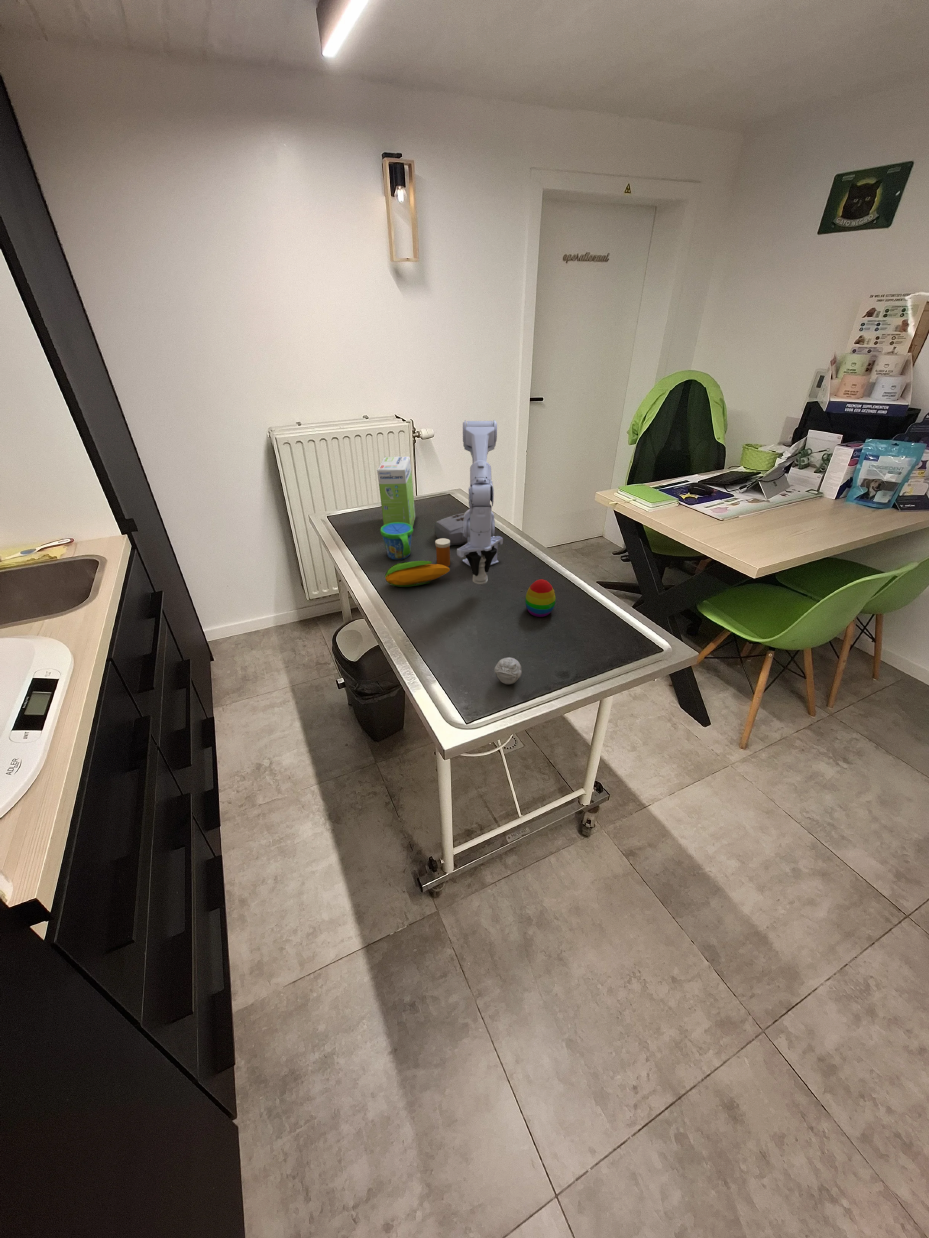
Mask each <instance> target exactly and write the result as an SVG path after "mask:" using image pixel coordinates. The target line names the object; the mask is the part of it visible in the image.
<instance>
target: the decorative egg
mask: <svg viewBox="0 0 929 1238" xmlns="http://www.w3.org/2000/svg"><path fill="white" fill-rule="evenodd" d="M524 602H525V607H526V610H527V611H528V612H529V613H530V615H532V616H534V617H538V618H543V617H547V616H548V615H550V613H552V611H553V610H554V609H555V605H556V592H555V590H554V588H553V586H552V584H551V583H550V582H549V581H548V580H546V579H544V578H543V579H541V578H540V579H537V580H535V581H534V582H533V583H532V584H530V585H529V587H528V589H527V591H526V594H525V600H524Z"/></svg>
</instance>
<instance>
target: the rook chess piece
mask: <svg viewBox="0 0 929 1238" xmlns="http://www.w3.org/2000/svg"><path fill="white" fill-rule="evenodd" d="M479 556H480V555H479ZM485 561H486V558H485V556H483V555H481V559H480V563H479V574H478V576H475V575H474V574H472V583H474V584H475V585H479V586H480V585H481V586H483V585H485V584H487V583H488V580H489V579H488V574H487V572H485Z"/></svg>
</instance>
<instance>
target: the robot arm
mask: <svg viewBox="0 0 929 1238" xmlns="http://www.w3.org/2000/svg"><path fill="white" fill-rule="evenodd" d="M497 441H498V422H497V421H496V420H495V419H493V420H463V421H462V442H463V443H462V444H463V448H464V451H467V452H469V453H470V456H471V459H472V460H471V461H472V463H471V465H470V467H469V486H468V509H467V510H466V511H465V512H464V513H465V514H464V536H465V538H467V540H468V543H466V544H463V545H462V546H461V547H458V548H456V556H458V557H459V558H464V557H465V558H464V559H462V562H463V563H464V564H466V565H468V566H469V567H470V570H471V574H472V575H475V576H478V574H479V563H480V559H481V555H483V556H485V558H486V561H485V573H489V571H490V568H491V566H492V565H495V564H498V563H499V560H498V547H499V546H502V545H503V544H504V538H503V537H502V536H500V535H496V536H495V533H496V532H495V531H496V523H495V522H496V521H495V513H494V512H493V509H492V508H493V506H494V503H495V501H494V500H495V489H494V484H493V480H492V466H491V464H490V463H489V462H488V454H489V452H491V451H494V450H495V448H496V445H497ZM479 555H480V556H479Z"/></svg>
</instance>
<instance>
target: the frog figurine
mask: <svg viewBox="0 0 929 1238" xmlns="http://www.w3.org/2000/svg"><path fill="white" fill-rule="evenodd" d="M520 663H521V662H520V661H518V660H517V658H516V659H515V658H514V657H504V658H501V659H499V661H498V662H497V663H496V665H495V667H494V673H495V674H496V677H497V679H498V680H499V681H500V682H501V683H502V684H504V685H513V684H515V683H516V682H517V681H519V679H520V677H521V676H522V665H521V664H520Z"/></svg>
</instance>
